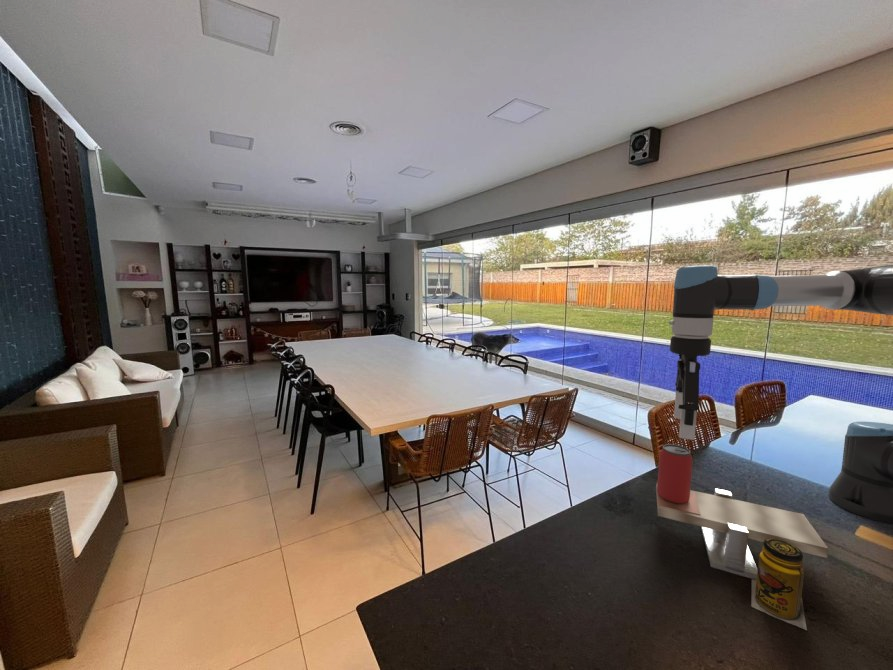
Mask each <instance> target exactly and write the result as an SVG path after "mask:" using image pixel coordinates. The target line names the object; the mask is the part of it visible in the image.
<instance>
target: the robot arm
mask: <svg viewBox="0 0 893 670" xmlns="http://www.w3.org/2000/svg"><path fill="white" fill-rule="evenodd" d="M672 303H673V304H672V318H671V319H672V320H669V321H668V325H670V326H671V334H672V336H671V337H670V344H669V346H670V347H669V351H670V352H671V353H673V354H675V355H678V360H677V362H676V365H677V366H676V367H677V369H676V370H677V371H676V381H675V390H676V391H675V397H674V398H675V399H674V412H673V418H674V419H678V420H680V421H679V434H678V438H680V439H684V440H685V439H686V440H691V441H695V439H696V438H695V437H696V427H697V426H696V425H697V414H698V411H699V410H700V370H701V362H699V361H698V357H699V356H700V357H706V356H709V355H710V354H711V347H712V339H711V338H710V337H711V336H712V335H713V327H714V313H715V310H735V311H736V310H739V311H740V310H745V311H747V310H748V311H754V310H766V309H768V308H770V307H808V306H809V307H810V306H811V307H812V306H813V307H815V306H819V307H822V308H823V309H826V310H836V311H837V310H841V311H842V310H843V311H854V312H862V313H867V314H874V315H875V314H876V315H887V316H893V264H887V265H879V266H871V267H864V268H855V269H850V270H849V269H848V270H832V271H829V272H826V273H824V274H822V275H821V274H817V275H816V274H812V275H811V274H809V275H808V274H807V275H763V274H757V273H755V274H729V275H728V274H727V275H725V274H724V275H723V274H719V273H718V268H717V266H715V265H689V266H688V265H686V266H681V267H679V268H678V269H677V270H676V273H675V279H674V286H673V302H672ZM843 443H844V444H843V446H844V447H843V453H842V454H843V455H842V461H841V462H842V463H841V469H840V473H839V474H838V475H837V476H836V478H835V479H834V480H833V482H832V484H831V485H830V486H829V488H828V494H827V496H828V498H829V500H831V501H832V502H833V503H834V504H835V505H837V506H839V507H841V508H843V509H844V510H846V511H849V512H851V513H853V514H856V515H858V516H862V517H863V518H867V519H871V520H873V521H877V522H881V523H885V524H891V525H893V423H892V424H891V423H885V422H877V421H876V422H874V421H854V422H851V423H850V424H848V426H847V431H846V433H845V435H844V442H843Z"/></svg>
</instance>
